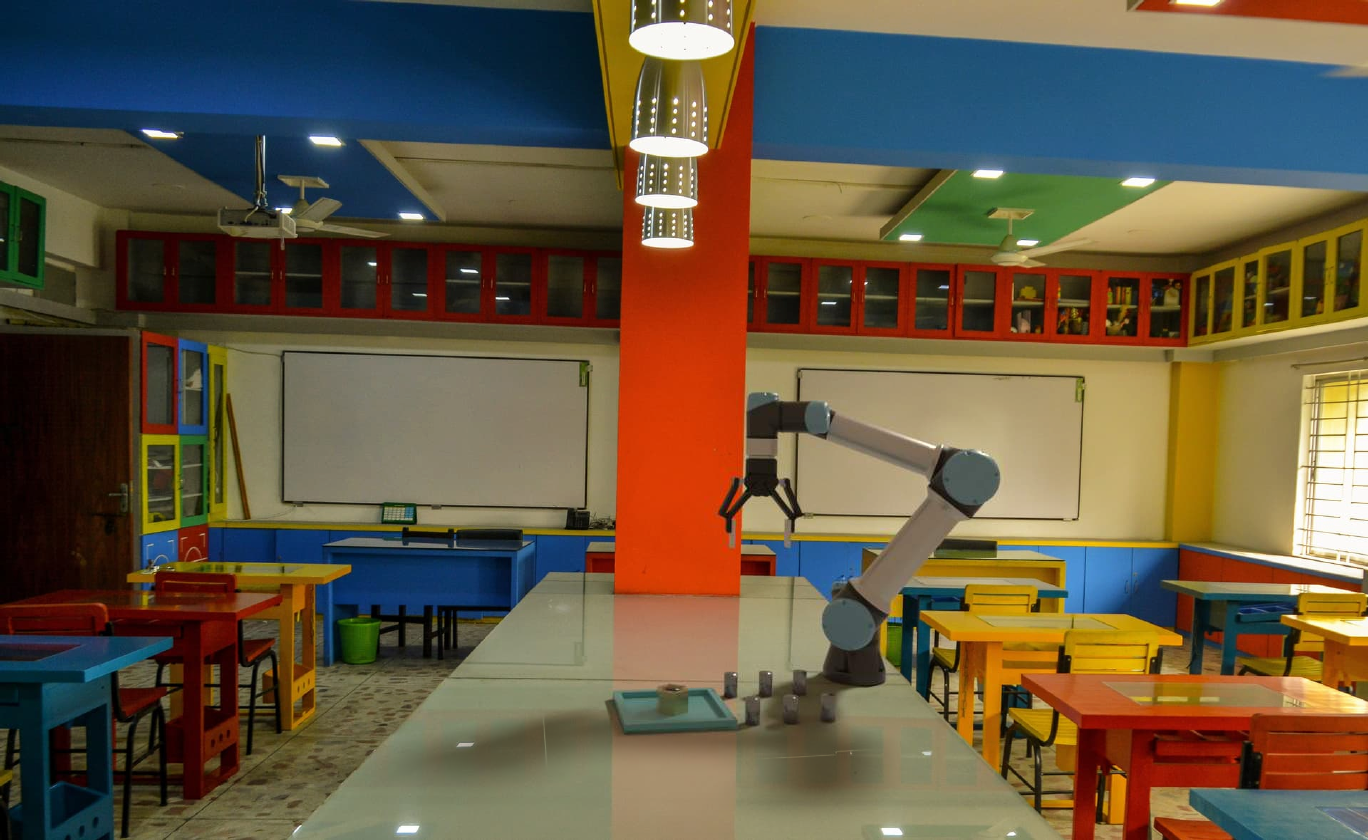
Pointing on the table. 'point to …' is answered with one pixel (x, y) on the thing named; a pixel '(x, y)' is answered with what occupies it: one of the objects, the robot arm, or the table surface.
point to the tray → (644, 717)
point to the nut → (672, 699)
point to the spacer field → (788, 700)
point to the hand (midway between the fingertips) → (759, 547)
